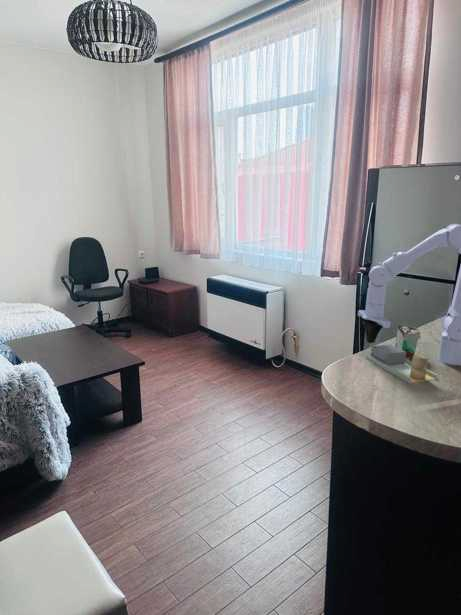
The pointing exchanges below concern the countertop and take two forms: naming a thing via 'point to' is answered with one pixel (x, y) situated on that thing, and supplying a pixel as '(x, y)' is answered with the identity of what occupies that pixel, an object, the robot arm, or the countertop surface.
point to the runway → (402, 370)
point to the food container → (407, 339)
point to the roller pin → (418, 367)
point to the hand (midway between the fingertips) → (370, 342)
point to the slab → (388, 354)
